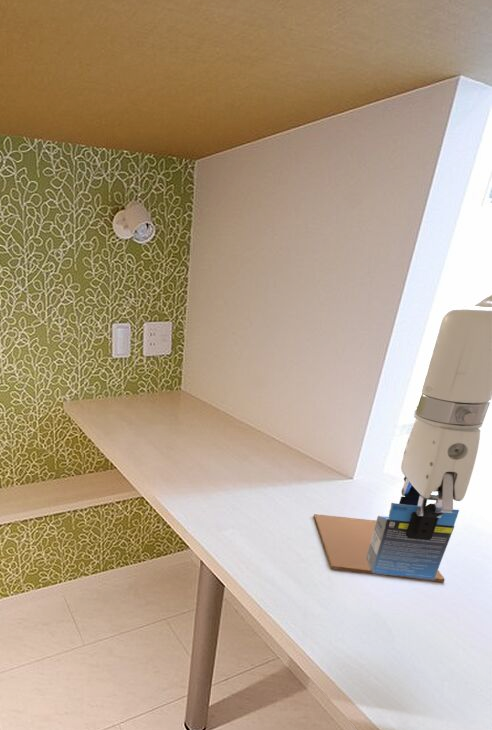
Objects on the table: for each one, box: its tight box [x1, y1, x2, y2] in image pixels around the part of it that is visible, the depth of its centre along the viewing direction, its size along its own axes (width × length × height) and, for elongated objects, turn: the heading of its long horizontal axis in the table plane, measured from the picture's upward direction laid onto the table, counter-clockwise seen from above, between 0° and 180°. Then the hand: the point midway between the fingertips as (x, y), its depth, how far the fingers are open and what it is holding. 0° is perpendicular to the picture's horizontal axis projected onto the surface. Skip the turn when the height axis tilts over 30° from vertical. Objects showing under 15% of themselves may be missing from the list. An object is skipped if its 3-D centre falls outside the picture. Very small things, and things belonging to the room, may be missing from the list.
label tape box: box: [366, 502, 460, 581], centre depth 65 cm, size 9×4×12 cm, turn 78°
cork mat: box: [313, 513, 446, 583], centre depth 91 cm, size 20×20×1 cm
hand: (412, 528), depth 64 cm, fingers closed on label tape box, 3 cm apart
